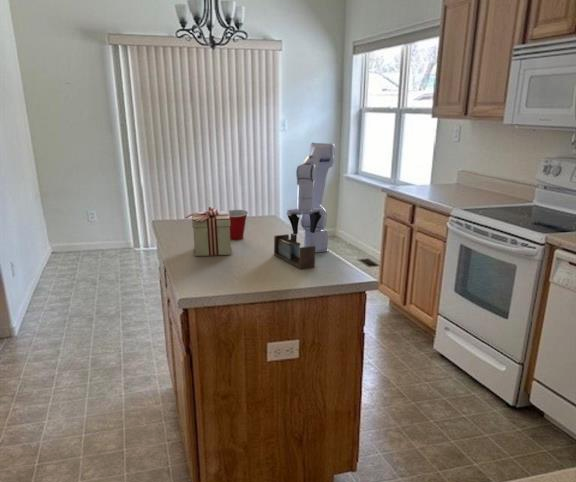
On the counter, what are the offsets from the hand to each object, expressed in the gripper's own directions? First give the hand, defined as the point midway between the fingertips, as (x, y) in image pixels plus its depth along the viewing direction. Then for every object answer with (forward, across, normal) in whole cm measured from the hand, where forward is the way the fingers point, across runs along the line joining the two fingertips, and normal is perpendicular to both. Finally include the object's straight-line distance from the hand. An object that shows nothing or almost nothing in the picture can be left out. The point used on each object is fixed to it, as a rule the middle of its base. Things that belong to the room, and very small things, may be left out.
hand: (303, 233), depth 206 cm
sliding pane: (+9, -3, +3) cm, 10 cm away
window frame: (+10, -4, 0) cm, 11 cm away
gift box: (+11, -29, +26) cm, 40 cm away
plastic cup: (+10, -10, +43) cm, 45 cm away
